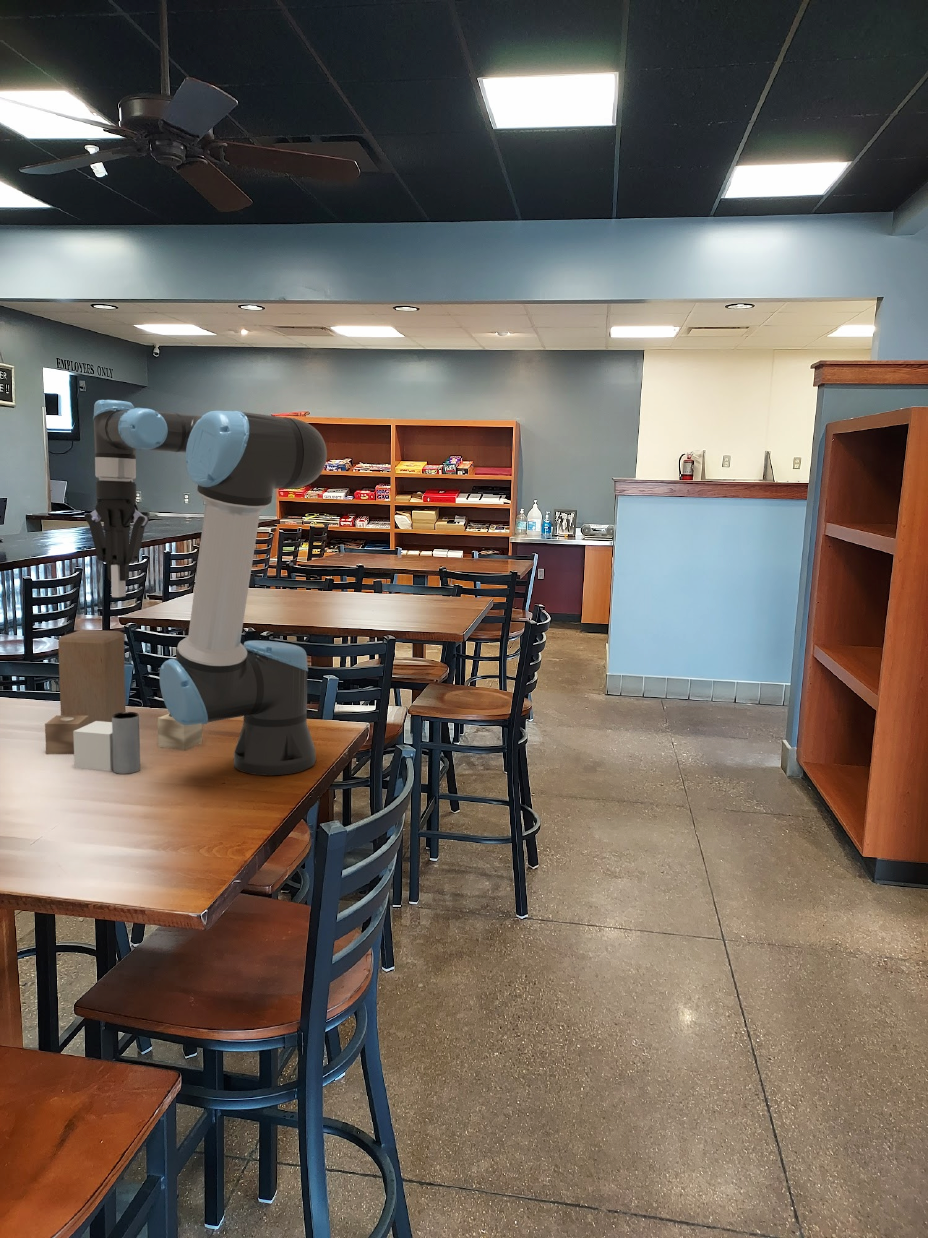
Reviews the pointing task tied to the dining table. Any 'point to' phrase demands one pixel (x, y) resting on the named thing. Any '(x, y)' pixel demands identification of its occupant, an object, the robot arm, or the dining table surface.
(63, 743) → the walnut block
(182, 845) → the dining table surface
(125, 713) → the planter
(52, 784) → the dining table surface
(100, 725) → the grey block
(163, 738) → the maple block
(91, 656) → the block
